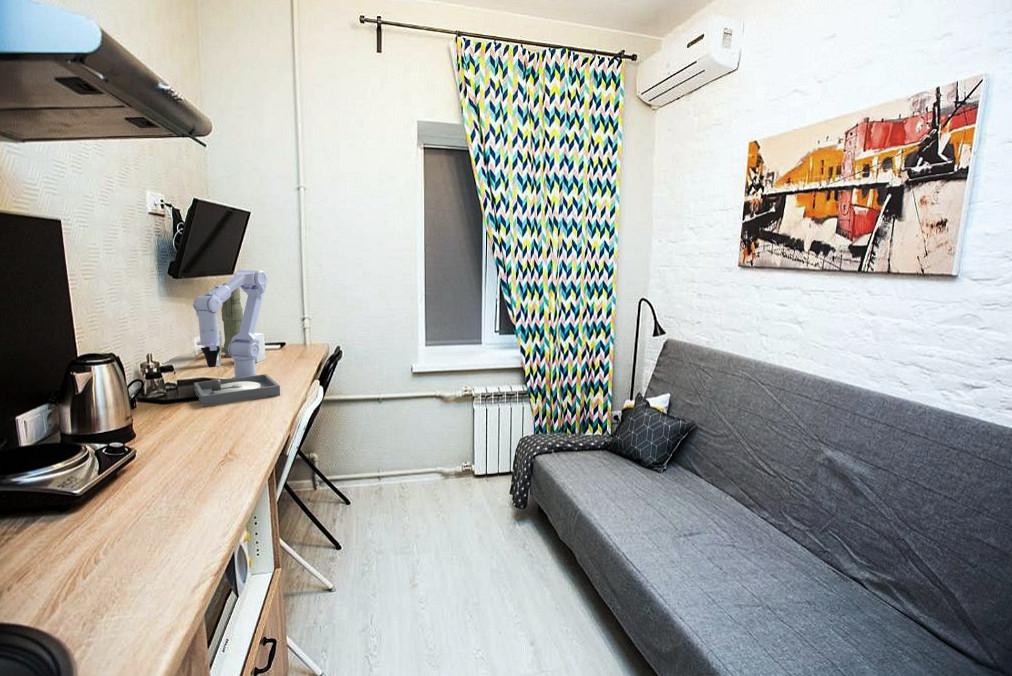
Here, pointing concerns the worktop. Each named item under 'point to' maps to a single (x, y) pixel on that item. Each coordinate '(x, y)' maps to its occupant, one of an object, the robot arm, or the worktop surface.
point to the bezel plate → (266, 389)
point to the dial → (232, 386)
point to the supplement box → (260, 347)
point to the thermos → (231, 318)
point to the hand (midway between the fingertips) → (211, 366)
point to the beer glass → (219, 361)
